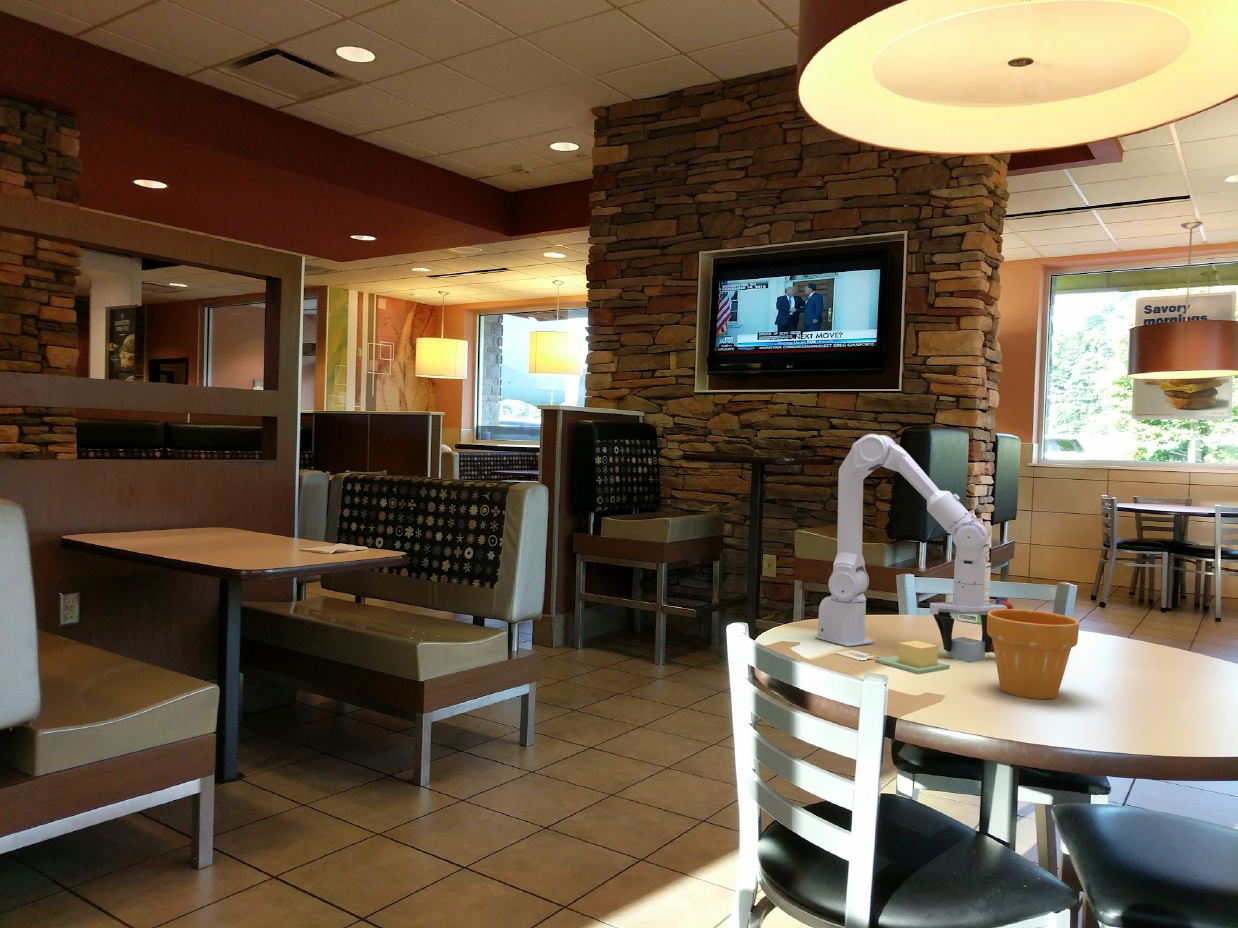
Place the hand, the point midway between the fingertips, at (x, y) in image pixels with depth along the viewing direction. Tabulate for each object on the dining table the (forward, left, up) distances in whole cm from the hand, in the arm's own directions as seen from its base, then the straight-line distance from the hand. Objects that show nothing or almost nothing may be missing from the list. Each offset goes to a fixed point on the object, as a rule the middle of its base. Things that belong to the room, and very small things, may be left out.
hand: (966, 650), depth 176 cm
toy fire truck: (-2, +15, -2) cm, 15 cm away
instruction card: (-11, -19, -1) cm, 22 cm away
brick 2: (0, 0, -1) cm, 1 cm away
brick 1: (0, -15, -1) cm, 15 cm away
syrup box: (-24, +36, -2) cm, 43 cm away
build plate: (-1, -15, -1) cm, 15 cm away
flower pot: (+21, -12, -2) cm, 24 cm away
